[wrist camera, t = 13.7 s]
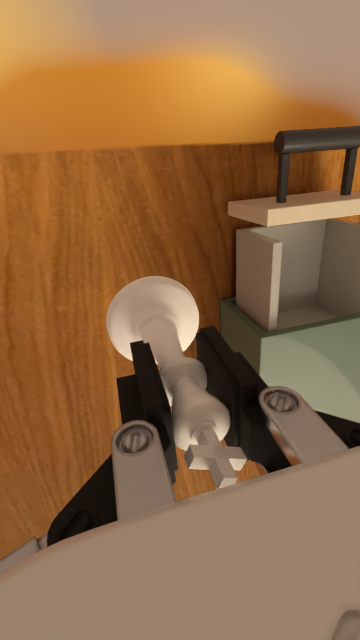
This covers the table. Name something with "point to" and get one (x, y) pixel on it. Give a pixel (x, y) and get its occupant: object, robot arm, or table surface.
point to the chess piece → (177, 369)
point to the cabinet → (303, 358)
